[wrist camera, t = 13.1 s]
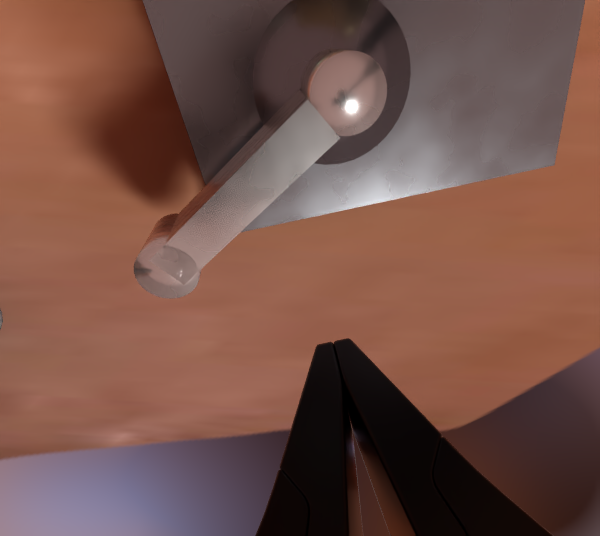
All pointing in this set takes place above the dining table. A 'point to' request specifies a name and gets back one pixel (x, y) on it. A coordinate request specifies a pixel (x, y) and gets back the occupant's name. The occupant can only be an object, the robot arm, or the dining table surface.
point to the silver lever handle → (290, 127)
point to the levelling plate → (418, 107)
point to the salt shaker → (1, 319)
